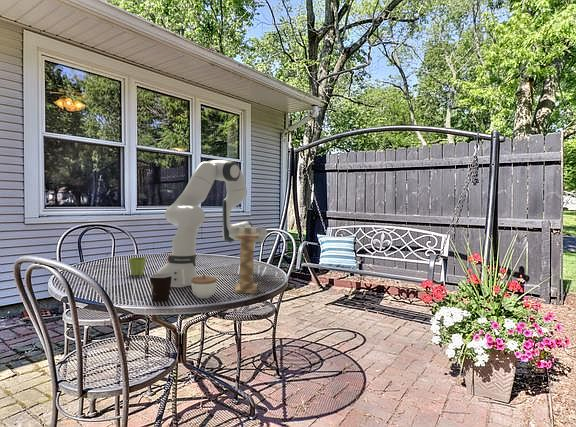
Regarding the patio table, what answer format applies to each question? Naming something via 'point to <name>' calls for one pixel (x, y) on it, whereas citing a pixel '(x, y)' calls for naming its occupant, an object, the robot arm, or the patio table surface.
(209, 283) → the lidded jar
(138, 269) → the plant pot
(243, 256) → the stand
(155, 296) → the coffee mug
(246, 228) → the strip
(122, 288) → the patio table surface
